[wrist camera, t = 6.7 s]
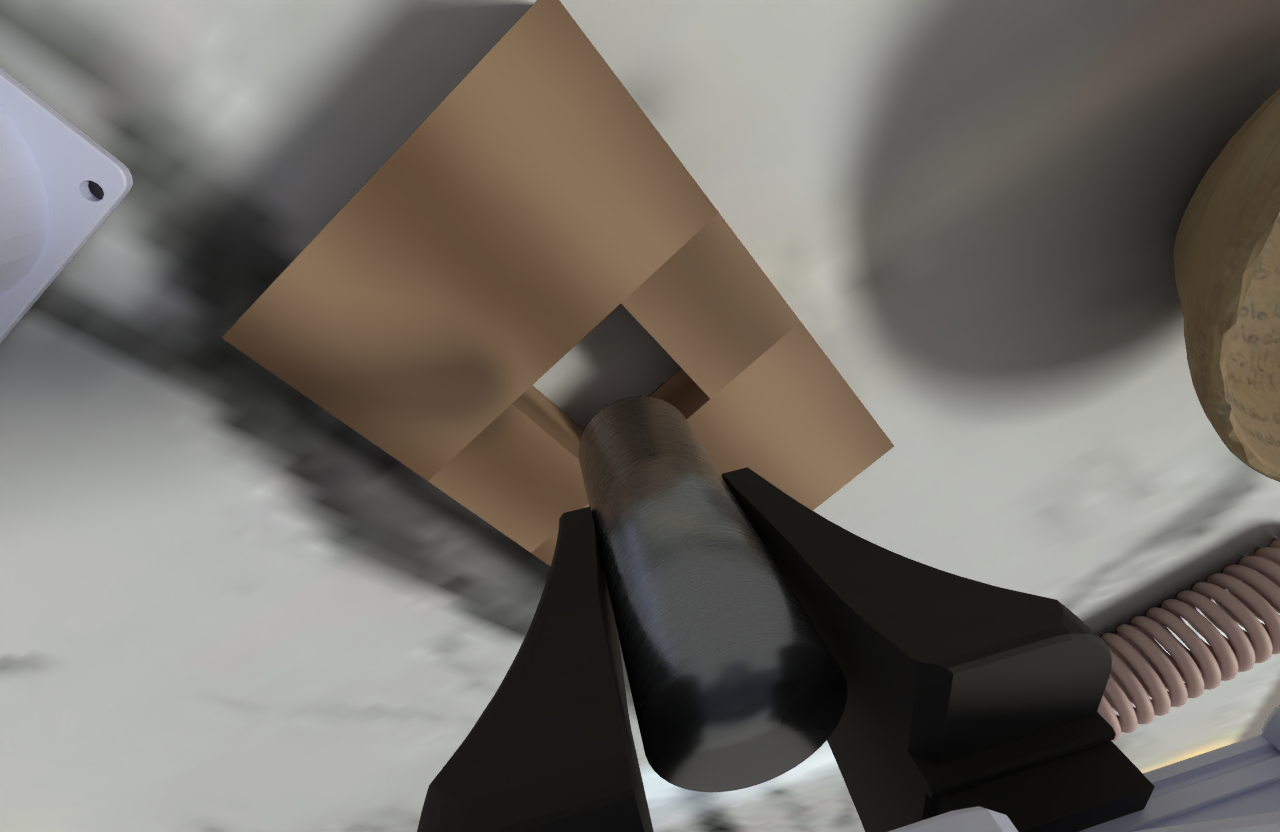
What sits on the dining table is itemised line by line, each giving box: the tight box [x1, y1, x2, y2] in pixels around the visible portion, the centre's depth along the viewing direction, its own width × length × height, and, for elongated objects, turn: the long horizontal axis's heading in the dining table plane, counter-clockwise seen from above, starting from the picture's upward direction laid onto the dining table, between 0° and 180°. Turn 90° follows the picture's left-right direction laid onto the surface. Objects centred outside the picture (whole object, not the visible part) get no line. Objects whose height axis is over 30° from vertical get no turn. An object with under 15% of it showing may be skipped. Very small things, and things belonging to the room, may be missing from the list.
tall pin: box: [578, 396, 847, 792], centre depth 12 cm, size 3×3×8 cm
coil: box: [1097, 539, 1280, 741], centre depth 35 cm, size 5×5×18 cm
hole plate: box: [222, 0, 894, 567], centre depth 20 cm, size 12×18×3 cm, turn 41°
